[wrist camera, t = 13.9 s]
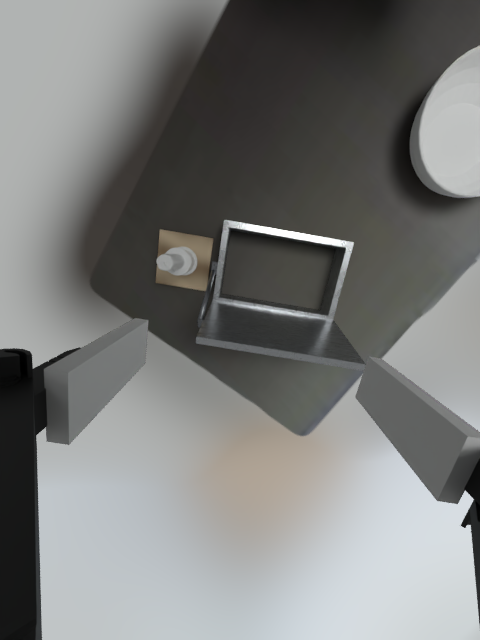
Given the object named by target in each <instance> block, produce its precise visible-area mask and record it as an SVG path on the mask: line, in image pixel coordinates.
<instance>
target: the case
mask: <svg viewBox="0 0 480 640" xmlns="http://www.w3.org/2000/svg"><path fill="white" fill-rule="evenodd" d="M231 230H232V231H238V232H243V233H249V234H255V235H260V236H266V237H272V238H278V239H283V240H289V241H295V242H300V243H306V244H312V245H318V246H323V247H329V248H335V249H336V250H335V254H334V257H333V261H332V265H331V269H330V273H329V277H328V281H327V285H326V289H325V293H324V297H323V300H322V304H321V308H320V310H316V309H310V308H304V307H298V306H292V305H286V304H281V303H275V302H269V301H263V300H257V299H251V298H245V297H239V296H233V295H227V294H221V293H222V287H223V280H224V273H225V266H226V260H227V253H228V246H229V239H230V233H231ZM353 244H354V242H348V241H342V240H337V239H331V238H325V237H319V236H314V235H308V234H302V233H297V232H291V231H285V230H280V229H274V228H268V227H263V226H257V225H251V224H246V223H240V222H234V221H229V220H224V224H223V231H222V238H221V246H220V253H219V260H218V262H214V261H213V262H212V268H211V274H210V277H209V281H208V284H207V288H206V291H205V295H204V299H203V302H202V306H201V309H200V313H199V316H198V320H197V323H198V327H200V330H199V332H198V334H197V336H196V343H197V344H203V345H209V346H215V347H221V348H227V349H233V350H240V351H246V352H252V353H258V354H264V355H270V356H276V357H282V358H288V359H294V360H301V361H307V362H313V363H319V364H325V365H331V366H337V367H343V368H349V369H356V370H362V371H363V370H364V368H365V365H366V364H365V362H364V361H363V360H362V358H361V357H360V356H359V354H358V353H357V352H356V350H355V349H354V347H353V346H352V345H351V343H350V342H349V341H348V339H347V338H346V337H345V335H344V334H343V332H342V331H341V330H340V328H339V327H338V326H337V324H336V323H335V321H334V320H333V318H334V314H335V310H336V307H337V303H338V299H339V296H340V292H341V288H342V285H343V281H344V277H345V274H346V270H347V266H348V263H349V259H350V255H351V252H352V248H353ZM215 274H216V281H215V288H214V295H213V300H212V303H211V305H210V307H209V309H208V312H207V314H206V316H205V318H204V315H205V311H206V307H207V303H208V300H209V296H210V292H211V288H212V284H213V281H214V277H215Z"/></svg>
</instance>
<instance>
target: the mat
mask: <svg viewBox="0 0 480 640" xmlns="http://www.w3.org/2000/svg"><path fill="white" fill-rule="evenodd" d="M212 246H213V238H207V237H201V236H196V235H190V234H184V233H179V232H173V231H167V230H161V229H160V234H159V247H158V257H159V256H160V255H162V254H165V253H166V252H167V251H168V250H169V249H171V248H178V247H188V248H190V249H191V250H192V251H193V252H194V253H195V254H196V257H197V267H196V269H195V270H194V272H193V273H191V274H189V275H179V276H177V275H173V274H171V273H169V272H168V271H163V270H160V269H159V268H158V265H157V272H156V283H160V284H166V285H172V286H178V287H184V288H190V289H196V290H202V291H206V288H207V284H208V276H209V269H210V261H211V253H212Z"/></svg>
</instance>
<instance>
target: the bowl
mask: <svg viewBox="0 0 480 640" xmlns="http://www.w3.org/2000/svg"><path fill="white" fill-rule="evenodd" d="M410 157H411V161H412V165H413V168H414V170H415V172H416V175H417V176H418V177H419V179H420V180H421V181H422V183H423V184H424V185H426V186H427V187H428V188H429V189H430V190H432V191H434V192H436V193H438V194H441V195H445V196H450V197H455V198H472V197H479V196H480V46H478V47H476V48H474V49H471V50H469V51H468V52H467V53H465V54H464V55H462V56H461V57H460V58H458V59H457V60H456V61H455V62H454V63H453V64H452V65H451V66H450V67H449V68H448V69H447V70H446V71H445V72H444V73H443V74H442V75H441V76H440V77H439V78H438V80H437V81H436V82H435V83H434V85H433V86H432V87H431V89H430V90H429V92H428V93H427V94H426V96H425V98H424V100H423V102H422V104H421V106H420V108H419V110H418V112H417V114H416V116H415V119H414V122H413V125H412V129H411V135H410Z"/></svg>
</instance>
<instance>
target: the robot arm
mask: <svg viewBox="0 0 480 640" xmlns="http://www.w3.org/2000/svg"><path fill="white" fill-rule="evenodd" d="M147 332H148V320H144V319H138V318H134V319H133V320H131V321H129V322H127V323H125V324H124V325H122V326H120V327H119V328H117V329H115V330H113V331H111V332H109V333H107V334H106V335H104V336H102V337H100V338H98V339H97V340H95V341H93V342H91V343H90V344H88V345H86V346H84V347H82V348H76V349H73V350H69V351H66V352H64V353H62V354H60V355H59V356H57V357H55V358H53V359H51V360H49V362H45V363H43V364H41V365H40V366H38V367H36V368H34V369H33V368H32V354H31V353H30V351H27V350H24V349H0V640H42V631H41V594H40V556H39V555H40V554H39V520H38V519H39V518H38V483H37V482H38V481H37V444H36V435H37V434H38V433H39V432H41V431H42V430H43V429H44V428H45V427H46V436H47V441H48V442H54V443H61V444H68V445H69V444H70V443H71V442H72V441H73V440H74V439H75V438H76V436H78V435H79V433H80V432H81V431H82V430H83V429H84V428H85V427H86V426H87V425H88V424H89V423H90V422H91V421H92V420H93V419H94V418H95V416H96V415H97V414H98V413H99V412H100V411H101V410H102V409H103V408H104V407H105V406H106V405H107V403H108V402H110V400H111V399H112V398H113V397H114V396H115V395H116V394H117V393H118V392H119V391H120V390H121V389H122V388H123V386H124V385H125V384H126V383H127V382H128V381H129V380H130V379H131V378H132V377H133V376H134V375H135V374H136V373H137V372H138V371H139V369H140V368H141V367H142V366H143V365H144V364H145V359H146V346H147ZM356 399H357V400H358V401H359V402H360V404H361V405H362V406H363V407H364V409H365V410H366V411H367V412H368V414H369V415H370V416H371V418H372V419H373V420H374V421H375V423H376V424H377V425H378V426H379V428H380V429H381V430H382V432H383V433H384V434H385V435H386V437H387V438H388V439H389V440H390V441H391V443H392V444H393V445H394V447H395V448H396V449H397V451H398V452H399V453H400V454H401V456H402V457H403V458H404V459H405V461H406V462H407V463H408V465H409V466H410V467H411V468H412V470H413V471H414V472H415V473H416V475H417V476H418V477H419V478H420V480H421V481H422V482H423V483H424V485H425V486H426V487H427V489H428V490H429V491H430V492H431V493H432V495H433V496H434V497H435V499H436V500H437V501H442V502H448V503H455V504H458V502H459V500H460V498H461V497H462V495H463V493H464V491H465V490H466V491H467V492H468V493H469V494H470V496H471V497H473V499H474V501H473V503H472V505H471V507H470V509H469V510H468V513H467V514H466V516H465V518H464V520H463V522H462V524H461V526H462V527H464V528H465V527H466V525H471V530H472V531H471V532H472V542H473V553H474V565H475V577H476V588H477V600H478V611H479V623H480V432H479V431H478V430H476V429H475V428H474V427H472V426H471V425H470V424H468V423H467V422H465V421H464V420H463V419H461V418H460V417H459V416H457V415H456V414H455V413H453V412H452V411H451V410H449V409H448V408H447V407H445V406H444V405H442V404H441V403H440V402H439V401H437V400H436V399H435V398H433V397H432V396H431V395H429V394H428V393H427V392H425V391H424V390H422V389H421V388H420V387H419V386H417V385H416V384H415V383H413V382H412V381H410V380H409V379H407V378H406V377H405V376H404V375H402V374H401V373H400V372H398V371H397V370H396V369H394V368H393V367H392V366H390V365H389V364H388V363H386V362H385V361H384V360H382V359H380V358H374V357H368V360H367V363H366V366H365V369H364V372H363V375H362V379H361V382H360V385H359V388H358V391H357V394H356Z"/></svg>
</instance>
